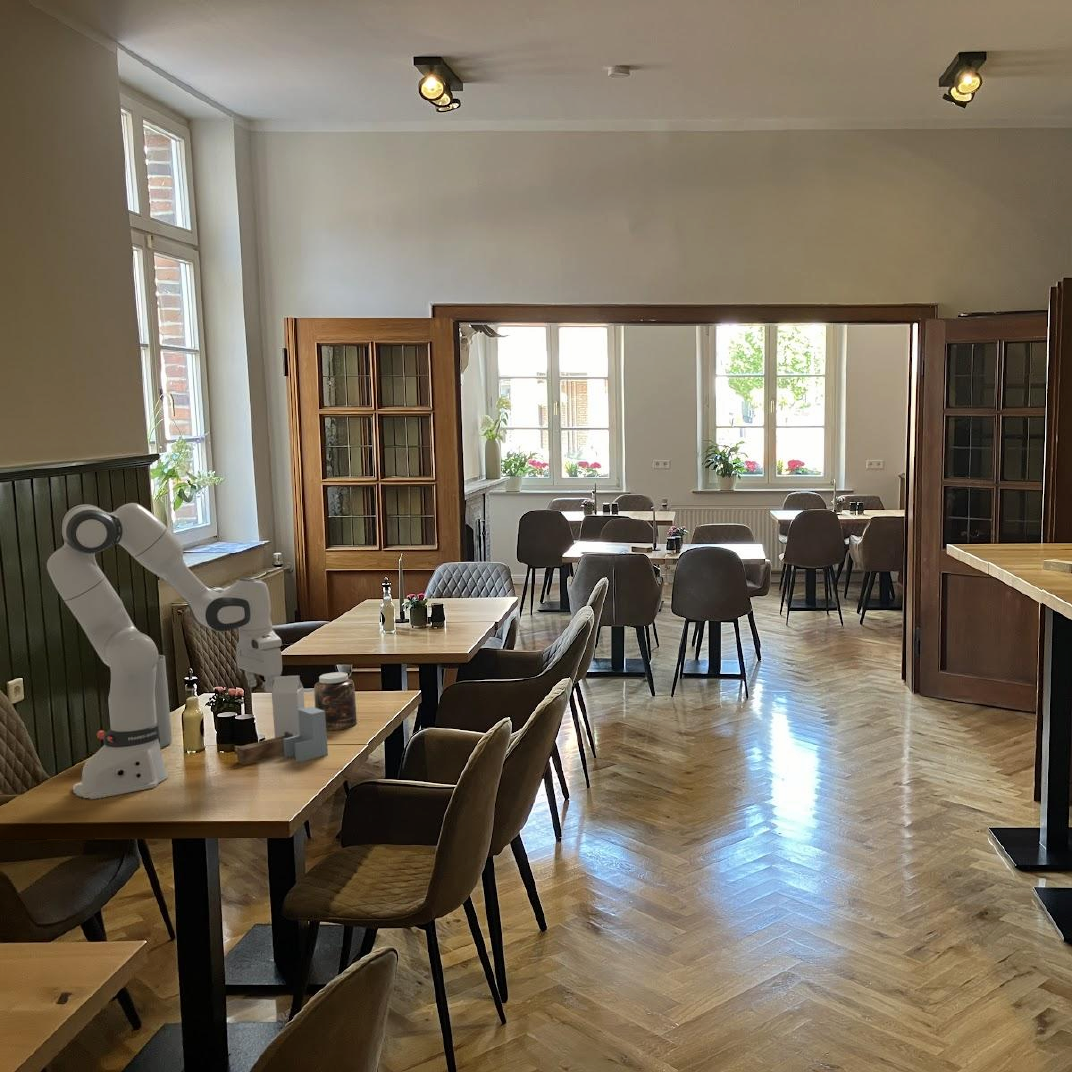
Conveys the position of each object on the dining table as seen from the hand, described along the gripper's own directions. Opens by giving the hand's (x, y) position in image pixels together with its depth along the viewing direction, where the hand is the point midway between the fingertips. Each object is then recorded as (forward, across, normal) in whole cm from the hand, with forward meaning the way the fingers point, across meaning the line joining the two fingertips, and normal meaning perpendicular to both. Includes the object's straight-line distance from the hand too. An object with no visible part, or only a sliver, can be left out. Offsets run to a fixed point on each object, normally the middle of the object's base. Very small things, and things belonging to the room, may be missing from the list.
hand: (260, 689), depth 286 cm
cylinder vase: (+19, -37, -18) cm, 45 cm away
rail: (+19, 0, 0) cm, 19 cm away
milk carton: (+19, -7, +11) cm, 23 cm away
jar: (+19, -13, +29) cm, 37 cm away
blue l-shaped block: (+19, +8, +8) cm, 22 cm away
